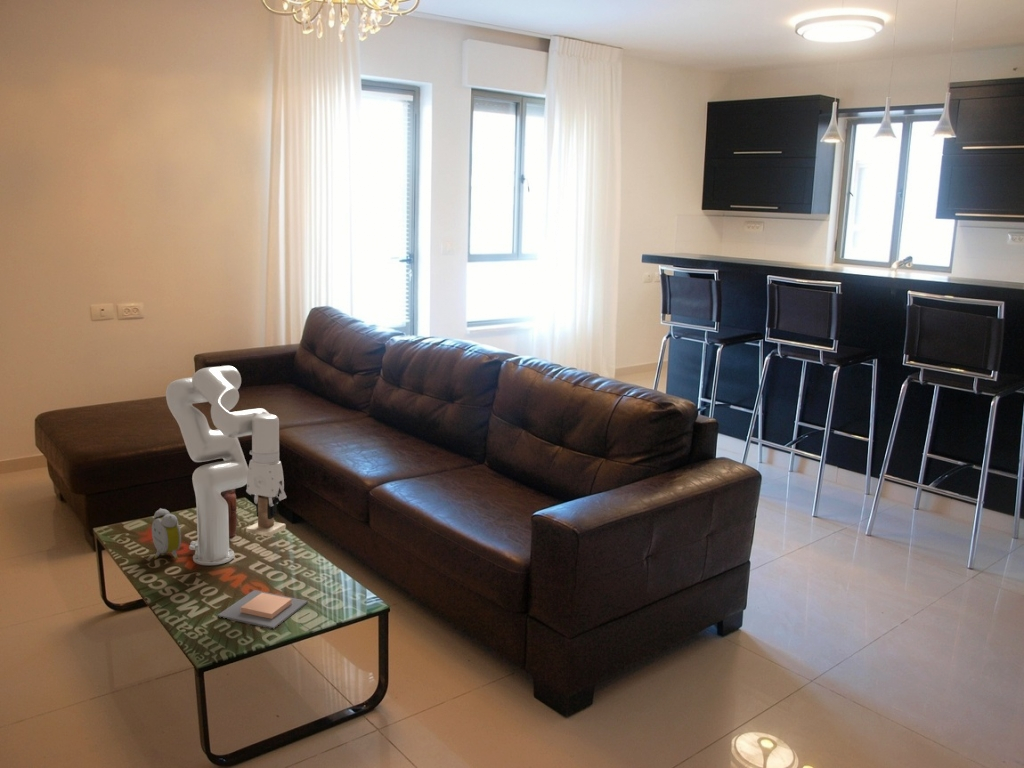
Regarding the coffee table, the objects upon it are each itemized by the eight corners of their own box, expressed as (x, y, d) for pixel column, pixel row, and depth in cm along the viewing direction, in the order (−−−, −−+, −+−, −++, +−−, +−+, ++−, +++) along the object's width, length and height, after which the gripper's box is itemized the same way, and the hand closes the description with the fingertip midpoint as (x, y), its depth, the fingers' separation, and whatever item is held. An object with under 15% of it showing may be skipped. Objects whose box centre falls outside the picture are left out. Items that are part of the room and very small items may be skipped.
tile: (240, 607, 231) (271, 613, 228) (261, 592, 240) (291, 598, 237) (240, 612, 231) (271, 619, 228) (261, 597, 241) (291, 604, 238)
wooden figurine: (214, 527, 293) (212, 479, 289) (232, 525, 296) (231, 477, 292) (219, 539, 283) (218, 489, 279) (239, 537, 286) (238, 487, 282)
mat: (217, 616, 230) (217, 614, 229) (254, 591, 245) (254, 589, 245) (273, 629, 224) (273, 627, 224) (307, 602, 240) (307, 600, 240)
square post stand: (246, 531, 241) (245, 498, 240) (263, 523, 249) (262, 490, 247) (269, 536, 239) (269, 503, 237) (285, 527, 246) (285, 495, 244)
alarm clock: (182, 559, 266) (181, 515, 263) (161, 564, 261) (159, 519, 258) (168, 548, 274) (166, 505, 271) (147, 553, 269) (145, 509, 266)
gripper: (233, 455, 239) (234, 516, 242) (282, 464, 233) (282, 525, 237) (250, 449, 246) (251, 508, 249) (297, 457, 240) (297, 517, 244)
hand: (266, 515), depth 243 cm, fingers closed on square post stand, 3 cm apart
